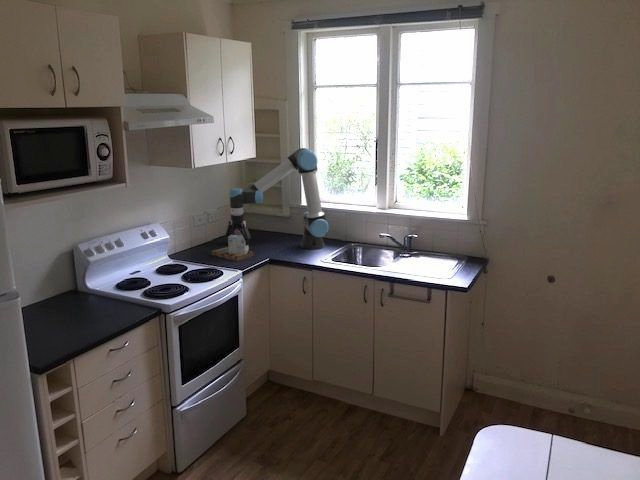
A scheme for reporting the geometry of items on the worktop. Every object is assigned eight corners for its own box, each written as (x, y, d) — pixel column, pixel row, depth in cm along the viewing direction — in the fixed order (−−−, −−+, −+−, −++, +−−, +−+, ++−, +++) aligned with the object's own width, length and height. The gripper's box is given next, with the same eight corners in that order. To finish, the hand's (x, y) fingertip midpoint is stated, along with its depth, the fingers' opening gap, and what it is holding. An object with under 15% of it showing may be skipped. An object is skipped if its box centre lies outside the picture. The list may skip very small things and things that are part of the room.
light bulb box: (248, 251, 340) (247, 234, 337) (245, 254, 334) (245, 237, 331) (231, 251, 341) (230, 234, 339) (228, 254, 335) (227, 237, 332)
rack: (255, 256, 340) (255, 252, 339) (235, 261, 329) (235, 257, 328) (230, 249, 355) (230, 245, 354) (211, 254, 343) (211, 250, 343)
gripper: (218, 212, 337) (220, 246, 342) (246, 217, 321) (248, 253, 326) (228, 210, 342) (230, 244, 347) (256, 215, 326) (257, 250, 332)
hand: (239, 248), depth 337 cm, fingers open, 13 cm apart
